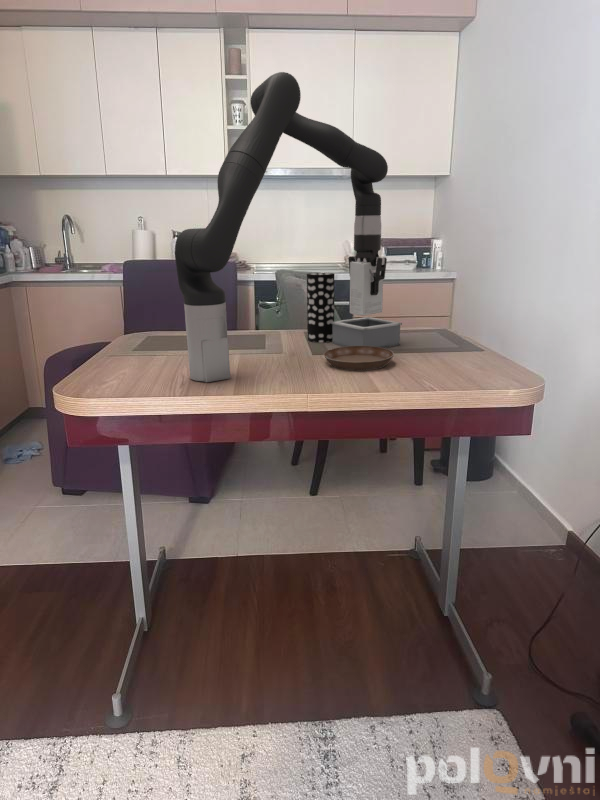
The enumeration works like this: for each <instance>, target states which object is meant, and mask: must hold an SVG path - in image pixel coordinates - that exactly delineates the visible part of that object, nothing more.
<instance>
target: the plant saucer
mask: <svg viewBox="0 0 600 800" xmlns="http://www.w3.org/2000/svg"><path fill="white" fill-rule="evenodd" d="M394 355H395V352H394V351H393V350H391V349H389V348H386V347H385V348H381V347H373V346H346V347H344V346H340V347H335V348H331V349H328V350H326V351H325V352H324V353H323V357H324V359H325V360H326V361H327V362H328V363H329V364H330V366H332V367H333V368H336V369H339V370H346V371H347V370H348V371H371V370H378V369H381V368H384V367H385V366H387V365H388V364H389V362H390V361H391V360H392V359H393V357H394Z"/></svg>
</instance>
